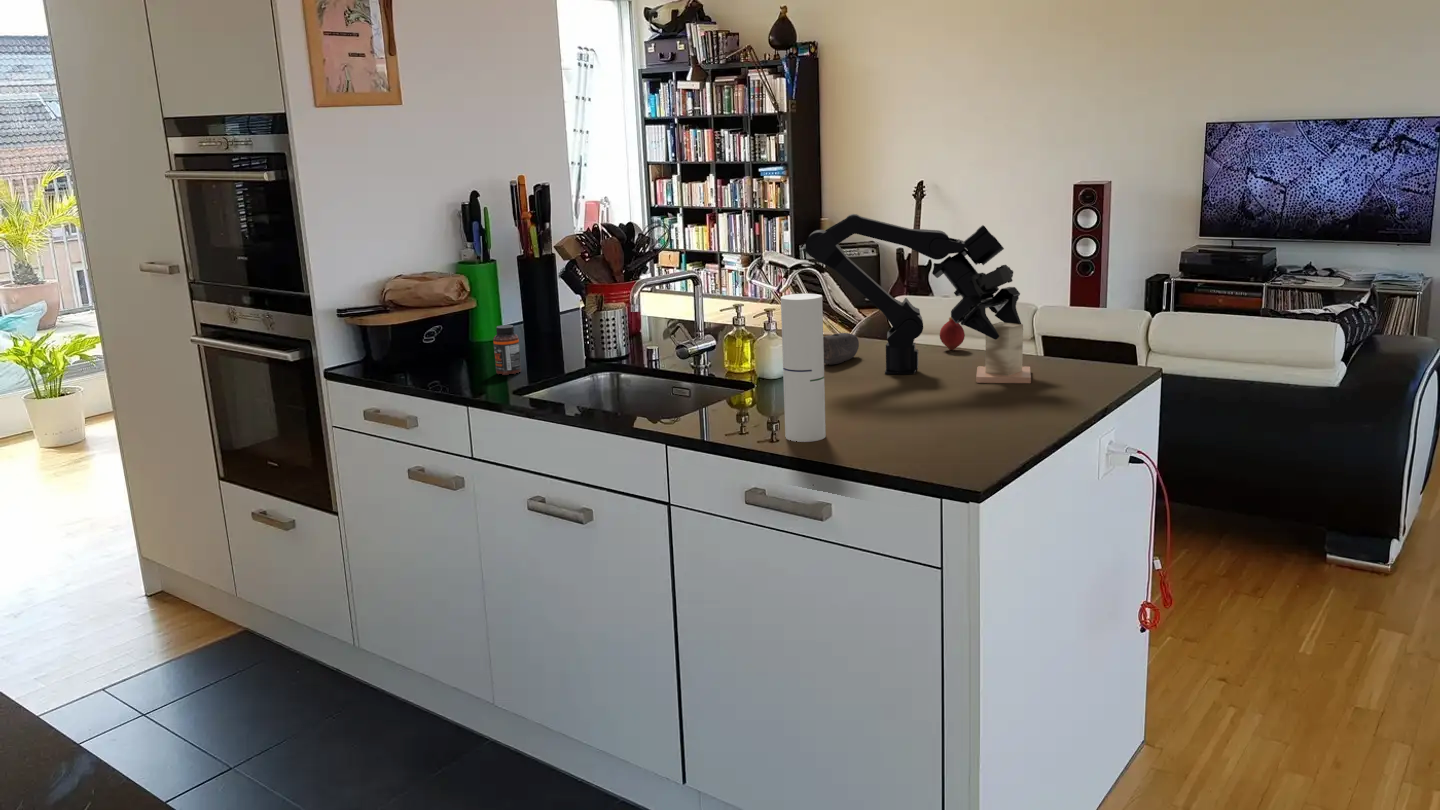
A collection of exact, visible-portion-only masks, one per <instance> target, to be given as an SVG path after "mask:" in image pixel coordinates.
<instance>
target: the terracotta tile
mask: <svg viewBox="0 0 1440 810" xmlns="http://www.w3.org/2000/svg"><path fill="white" fill-rule="evenodd" d="M975 383H977V384H1031V383H1032V375H1031V366H1025V365H1022V371H1021V372H1018V373H1015V374H1012V375H1009V376H1007V375H1000V374H992V373H985V365H984V366H981V365H979V366H977V369H976V378H975Z"/></svg>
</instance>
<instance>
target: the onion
mask: <svg viewBox="0 0 1440 810" xmlns="http://www.w3.org/2000/svg"><path fill="white" fill-rule="evenodd" d="M965 336H966V334H965V330H964V328H963V325H961V323H957V324H956V323H955V322H954V320H953V319H952V318H951V316H950V317H949V318H948V321H947V322H946V323H945V324H943V326H942V327H941V328H940V330H939V339H940V341H941V343H942V344H943V345H944V346H945V347H946V348H948V350H949V351H954V350H955V349H956V348H958V347H959V346H961V345H962V343H963V342H964V340H965Z"/></svg>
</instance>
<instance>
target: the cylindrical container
mask: <svg viewBox="0 0 1440 810" xmlns="http://www.w3.org/2000/svg"><path fill="white" fill-rule="evenodd" d="M780 311H781V312H780V313H781V314H780V315H781V317H780V318H781V342H782V343H781V344H782V345H781V347H782V370H783V371H782V373H783V374H782V375H783V377H782V378H783V400H784V401H783V404H784V405H783V406H784V407H783V408H784V435H785V437H786V438H785V437H784V438H785V439H786V440H788V441H790V440H791V442H796V441H797V443H798V442H799V443H800V442H801V443H810V442H817V441H821V440H823V439H825V438H826V394H825V392H826V391H825V390H826V389H825V363H824V349H823V337H824V317H823V316H824V315H823V313H824V311H823V295H822V294H817V293H793V294H792V293H791V294H785V295H782V296H781V297H780Z"/></svg>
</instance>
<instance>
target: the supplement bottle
mask: <svg viewBox="0 0 1440 810" xmlns="http://www.w3.org/2000/svg"><path fill="white" fill-rule="evenodd" d="M495 329H496V335H494V337H493V339H492V340H493V343H492V344H493V350H494V351H493V352H494V364H495V371H496V372H495V373H496V374H497V375H499V374H502V375H501V376H510V375H509V374H514V375H517V374H516V373H518V374H520V373H521V371H522V361H521V351H520V350H521V349H520V342H519V341H520V339H519V336H518V334H516V333H515V332H514V331H515V328H514V325H511V324H502V325H497V326H496V328H495ZM519 372H520V373H519Z"/></svg>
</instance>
